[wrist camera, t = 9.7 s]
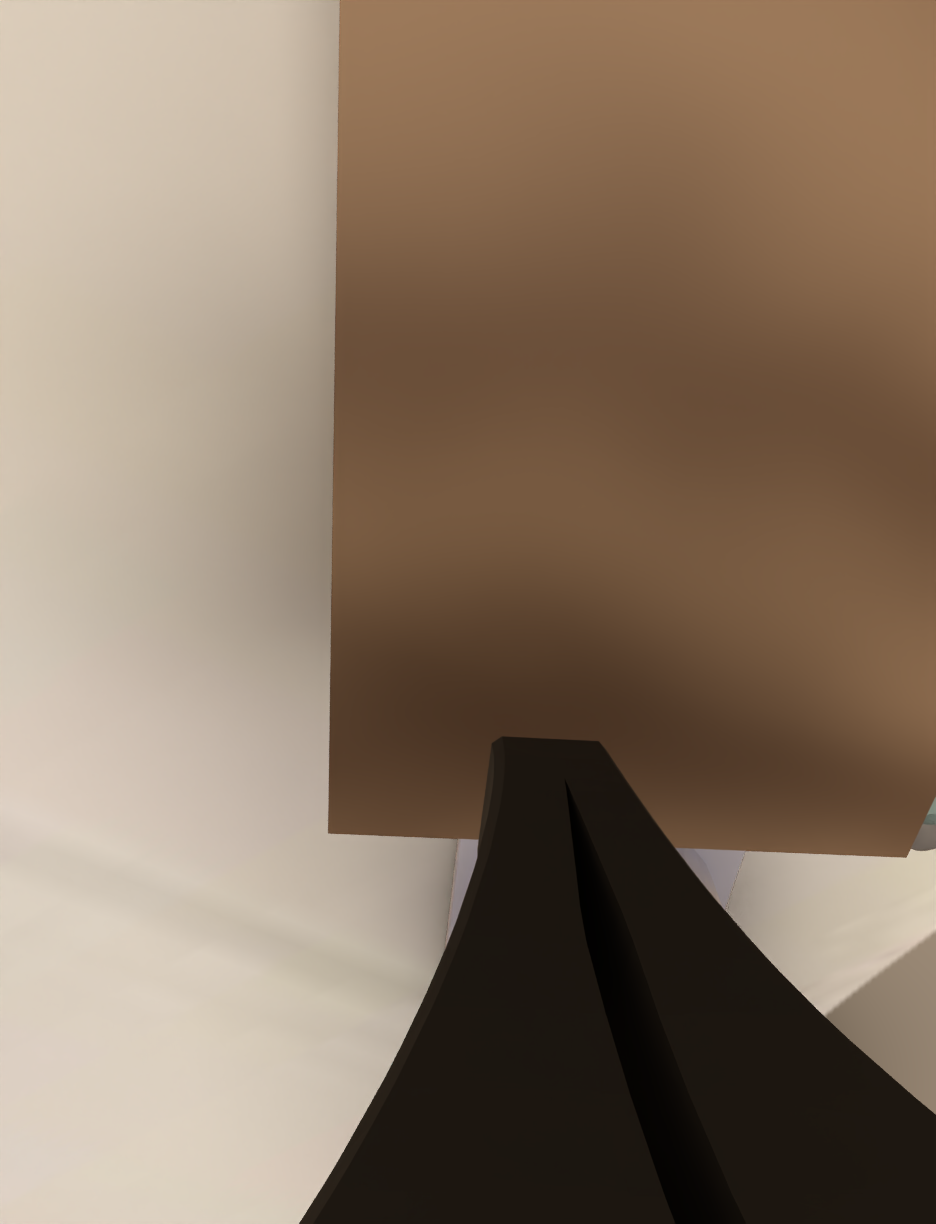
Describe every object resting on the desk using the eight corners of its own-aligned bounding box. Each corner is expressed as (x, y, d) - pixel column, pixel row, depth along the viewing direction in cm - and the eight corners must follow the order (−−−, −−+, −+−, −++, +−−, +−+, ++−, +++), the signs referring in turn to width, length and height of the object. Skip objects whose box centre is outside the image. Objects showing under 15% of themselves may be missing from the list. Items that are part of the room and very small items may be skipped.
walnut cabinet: (793, 678, 22) (906, 857, 17) (354, 653, 21) (328, 833, 16) (1077, -151, 14) (1468, -306, 9) (381, -247, 13) (346, -481, 8)
